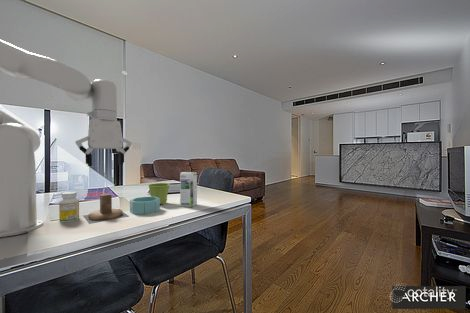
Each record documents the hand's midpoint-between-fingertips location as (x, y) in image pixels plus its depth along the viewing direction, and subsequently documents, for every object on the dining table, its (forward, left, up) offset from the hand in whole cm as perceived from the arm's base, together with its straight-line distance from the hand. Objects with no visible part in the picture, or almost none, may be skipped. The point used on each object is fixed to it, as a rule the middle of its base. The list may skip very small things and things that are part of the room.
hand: (105, 165), depth 78 cm
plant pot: (+23, +8, -19) cm, 31 cm away
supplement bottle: (-10, +4, -19) cm, 22 cm away
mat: (0, 0, -19) cm, 19 cm away
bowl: (+13, -2, -19) cm, 23 cm away
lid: (0, 0, -18) cm, 18 cm away
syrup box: (+31, -4, -19) cm, 36 cm away
